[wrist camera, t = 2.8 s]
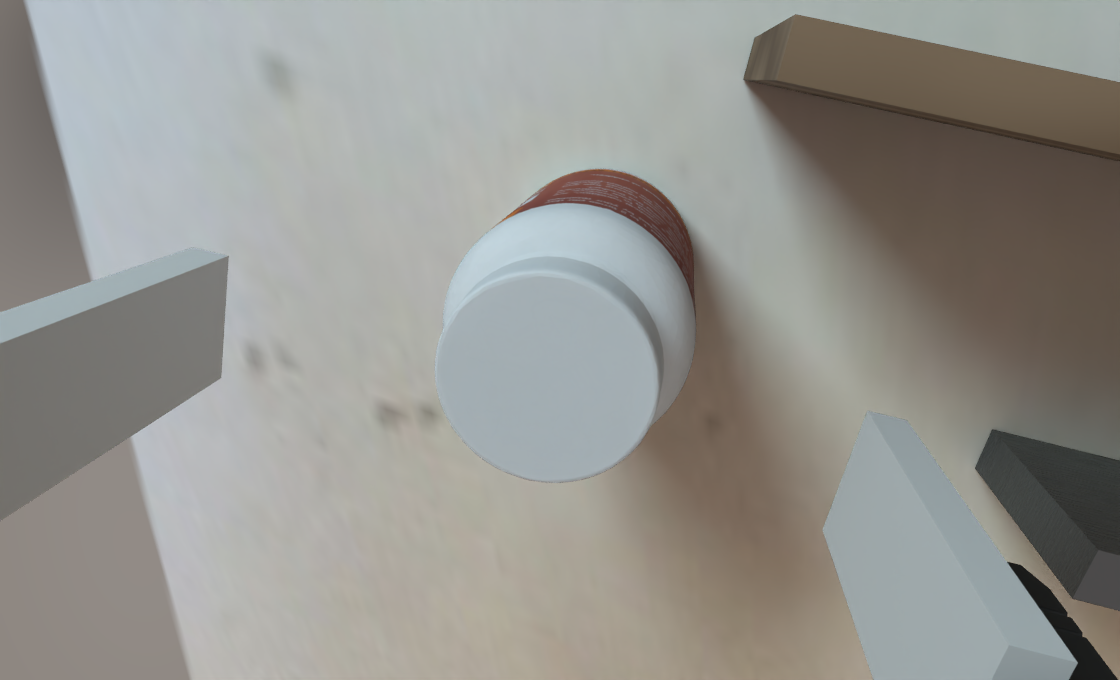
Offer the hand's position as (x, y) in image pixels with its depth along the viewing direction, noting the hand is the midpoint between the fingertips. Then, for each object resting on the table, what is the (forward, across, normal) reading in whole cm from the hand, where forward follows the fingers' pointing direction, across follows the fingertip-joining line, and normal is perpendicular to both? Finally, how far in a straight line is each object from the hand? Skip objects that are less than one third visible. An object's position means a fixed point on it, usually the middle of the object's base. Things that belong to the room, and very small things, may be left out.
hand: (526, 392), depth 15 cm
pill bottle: (+11, 0, 0) cm, 11 cm away
